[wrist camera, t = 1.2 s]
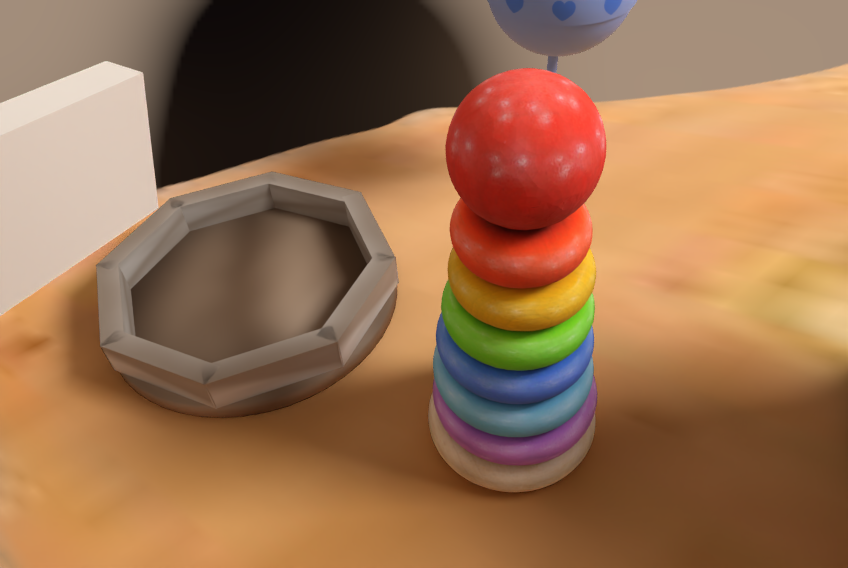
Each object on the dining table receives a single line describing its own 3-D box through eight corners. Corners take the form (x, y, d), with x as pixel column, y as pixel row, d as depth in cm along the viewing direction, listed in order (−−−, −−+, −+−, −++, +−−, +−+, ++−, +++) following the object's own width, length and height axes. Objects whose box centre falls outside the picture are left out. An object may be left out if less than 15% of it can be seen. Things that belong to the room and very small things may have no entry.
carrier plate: (351, 183, 49) (345, 148, 47) (440, 354, 37) (437, 317, 35) (104, 251, 45) (85, 215, 43) (117, 463, 34) (92, 428, 31)
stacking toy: (400, 406, 35) (349, 60, 22) (527, 339, 38) (550, -5, 24) (488, 532, 30) (492, 183, 17) (628, 445, 33) (726, 84, 19)
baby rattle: (634, 173, 47) (688, -118, 35) (561, 237, 43) (593, -68, 31) (533, 132, 52) (548, -140, 39) (458, 186, 48) (448, -99, 35)
